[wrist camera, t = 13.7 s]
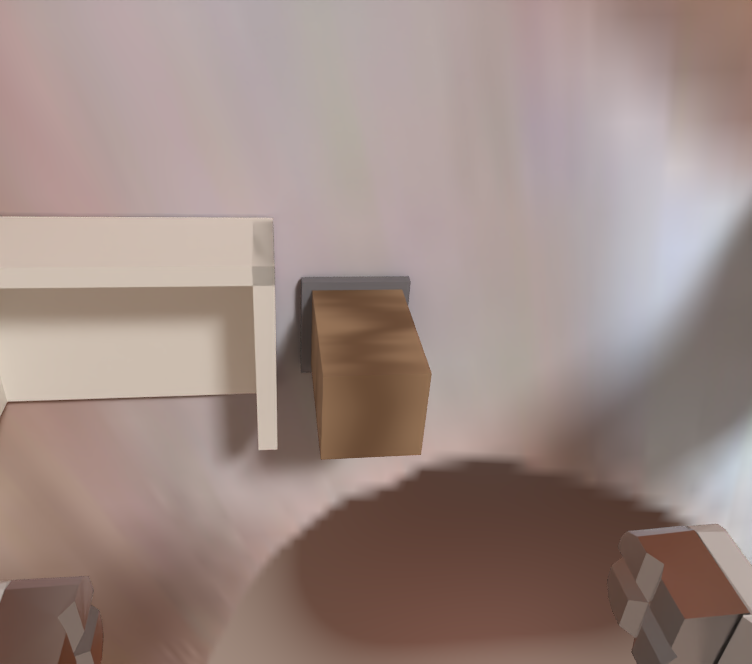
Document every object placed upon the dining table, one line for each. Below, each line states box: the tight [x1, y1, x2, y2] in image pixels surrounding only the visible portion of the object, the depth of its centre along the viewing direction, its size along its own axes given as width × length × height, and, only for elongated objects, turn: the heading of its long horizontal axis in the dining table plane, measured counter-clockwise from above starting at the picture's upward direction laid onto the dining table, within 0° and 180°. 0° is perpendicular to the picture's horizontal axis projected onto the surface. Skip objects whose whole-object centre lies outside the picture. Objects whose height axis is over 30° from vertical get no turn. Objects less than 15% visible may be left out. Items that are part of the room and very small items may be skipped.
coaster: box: [301, 276, 411, 373], centre depth 40 cm, size 6×6×1 cm
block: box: [311, 289, 432, 460], centre depth 36 cm, size 5×5×8 cm
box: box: [0, 217, 277, 450], centre depth 35 cm, size 16×11×6 cm
